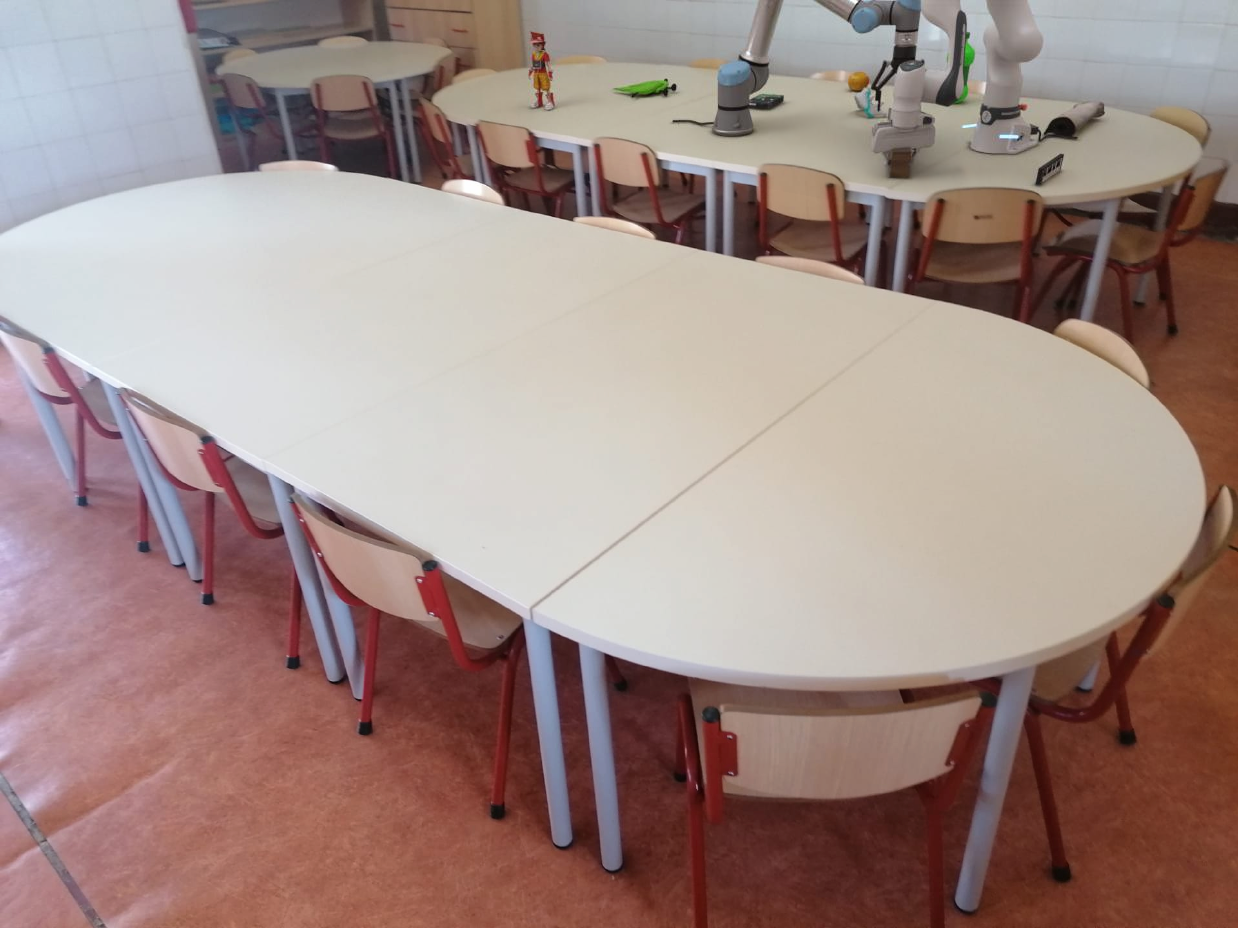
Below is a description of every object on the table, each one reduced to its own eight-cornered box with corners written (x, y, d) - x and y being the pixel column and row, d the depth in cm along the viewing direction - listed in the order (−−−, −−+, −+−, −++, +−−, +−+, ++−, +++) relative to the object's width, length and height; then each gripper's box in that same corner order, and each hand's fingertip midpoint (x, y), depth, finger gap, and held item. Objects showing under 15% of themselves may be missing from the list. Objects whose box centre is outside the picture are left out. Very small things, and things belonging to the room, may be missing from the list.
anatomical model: (849, 87, 348) (874, 80, 347) (851, 114, 354) (876, 107, 353) (861, 96, 336) (887, 89, 335) (863, 124, 342) (889, 117, 341)
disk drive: (769, 111, 359) (783, 102, 369) (769, 103, 357) (784, 94, 367) (745, 108, 363) (760, 100, 373) (745, 101, 362) (761, 92, 372)
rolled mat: (1071, 106, 328) (1096, 88, 320) (1085, 127, 329) (1110, 110, 321) (1039, 128, 311) (1065, 111, 303) (1053, 150, 312) (1080, 133, 303)
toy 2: (686, 85, 398) (631, 84, 414) (685, 72, 395) (629, 72, 411) (651, 104, 381) (596, 103, 397) (650, 92, 378) (594, 91, 394)
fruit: (843, 83, 375) (855, 65, 372) (845, 86, 383) (857, 69, 380) (859, 94, 374) (871, 76, 371) (861, 97, 382) (873, 80, 379)
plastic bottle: (973, 101, 354) (984, 32, 339) (955, 106, 349) (966, 36, 335) (952, 97, 361) (962, 29, 346) (934, 102, 356) (944, 33, 342)
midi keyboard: (1039, 185, 269) (1043, 168, 266) (1035, 184, 270) (1038, 168, 267) (1060, 170, 279) (1064, 154, 277) (1056, 169, 280) (1060, 153, 277)
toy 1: (525, 109, 381) (517, 32, 364) (534, 104, 388) (527, 28, 371) (550, 110, 377) (543, 32, 360) (559, 105, 384) (553, 28, 367)
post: (886, 131, 326) (888, 108, 321) (902, 131, 325) (905, 108, 320) (889, 178, 283) (892, 151, 278) (908, 178, 282) (911, 151, 277)
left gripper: (867, 48, 303) (861, 113, 315) (944, 46, 298) (936, 112, 310) (867, 44, 309) (861, 108, 321) (943, 41, 304) (934, 107, 316)
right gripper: (877, 124, 273) (872, 170, 281) (940, 117, 276) (933, 163, 284) (869, 119, 279) (864, 164, 286) (931, 113, 281) (924, 157, 289)
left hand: (898, 110), depth 316 cm, fingers open, 13 cm apart
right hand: (899, 163), depth 285 cm, fingers closed on post, 7 cm apart
